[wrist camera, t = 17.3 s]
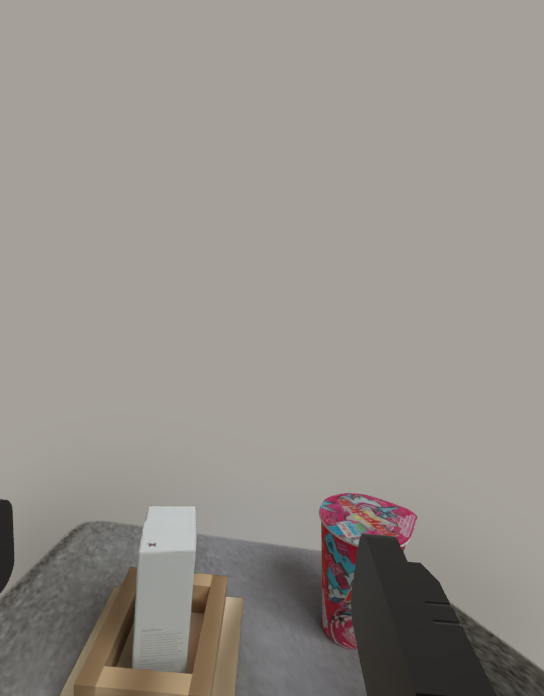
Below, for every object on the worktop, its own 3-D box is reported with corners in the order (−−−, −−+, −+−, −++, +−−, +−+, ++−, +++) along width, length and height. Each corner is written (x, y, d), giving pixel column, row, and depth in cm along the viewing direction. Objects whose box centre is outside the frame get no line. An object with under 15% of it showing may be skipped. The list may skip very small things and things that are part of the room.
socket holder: (242, 606, 42) (246, 572, 41) (228, 756, 29) (233, 710, 28) (114, 594, 41) (115, 560, 41) (43, 740, 29) (42, 693, 28)
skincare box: (186, 686, 32) (196, 551, 30) (129, 691, 32) (135, 553, 29) (188, 621, 38) (196, 504, 36) (140, 623, 37) (146, 504, 35)
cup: (359, 686, 35) (381, 562, 33) (287, 620, 41) (301, 510, 38) (411, 627, 41) (432, 520, 39) (342, 577, 47) (357, 481, 45)
